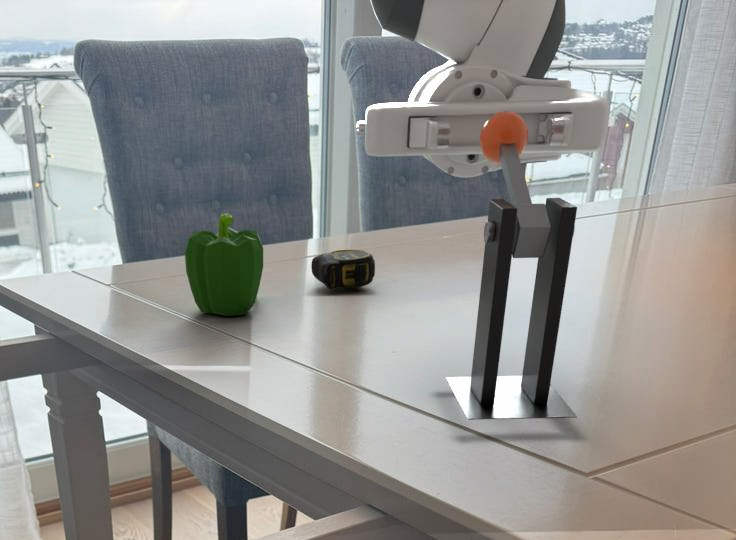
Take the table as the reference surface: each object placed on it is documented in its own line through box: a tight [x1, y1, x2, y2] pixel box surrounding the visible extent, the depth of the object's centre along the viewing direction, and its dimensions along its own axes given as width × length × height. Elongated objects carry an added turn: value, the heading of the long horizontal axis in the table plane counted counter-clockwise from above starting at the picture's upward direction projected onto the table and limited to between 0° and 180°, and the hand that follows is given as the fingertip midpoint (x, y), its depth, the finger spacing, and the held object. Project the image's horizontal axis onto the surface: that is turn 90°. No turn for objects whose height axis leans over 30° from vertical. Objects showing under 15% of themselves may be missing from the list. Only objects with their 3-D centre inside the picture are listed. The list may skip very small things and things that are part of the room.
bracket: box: [445, 197, 578, 420], centre depth 68 cm, size 10×8×15 cm
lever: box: [480, 111, 552, 259], centre depth 69 cm, size 15×4×4 cm, turn 179°
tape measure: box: [311, 249, 376, 290], centre depth 108 cm, size 7×7×4 cm
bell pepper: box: [184, 213, 264, 317], centre depth 98 cm, size 8×8×10 cm
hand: (500, 134), depth 73 cm, fingers open, 8 cm apart
